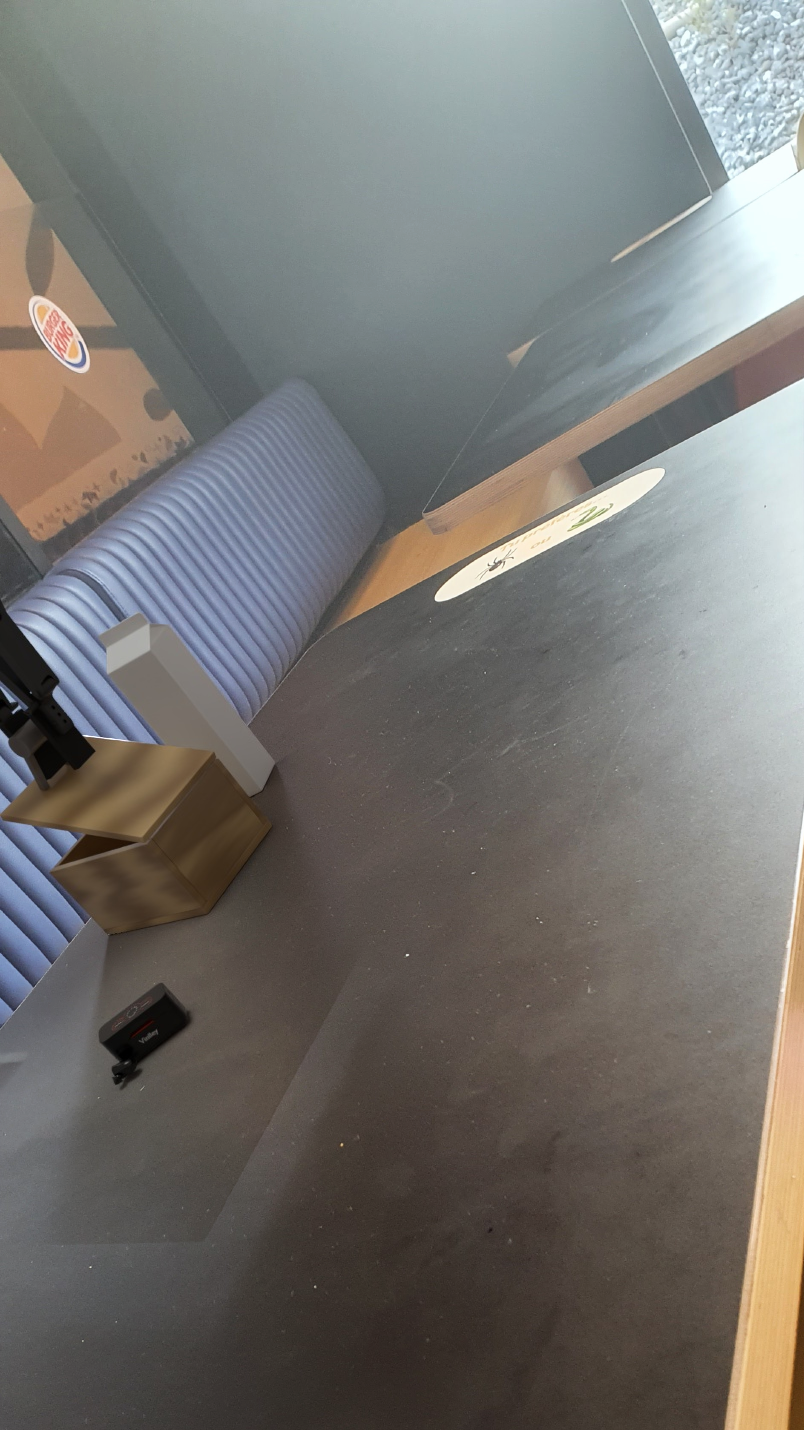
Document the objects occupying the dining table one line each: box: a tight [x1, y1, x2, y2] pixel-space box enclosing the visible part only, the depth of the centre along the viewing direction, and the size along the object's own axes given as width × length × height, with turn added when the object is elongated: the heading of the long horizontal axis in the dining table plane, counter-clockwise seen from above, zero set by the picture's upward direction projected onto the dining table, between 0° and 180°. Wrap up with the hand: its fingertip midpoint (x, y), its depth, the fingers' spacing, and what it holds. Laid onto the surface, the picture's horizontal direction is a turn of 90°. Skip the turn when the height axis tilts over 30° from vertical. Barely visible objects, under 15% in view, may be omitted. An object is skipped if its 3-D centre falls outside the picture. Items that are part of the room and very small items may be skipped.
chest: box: [48, 759, 273, 936], centre depth 114 cm, size 16×13×9 cm
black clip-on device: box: [97, 982, 189, 1086], centre depth 91 cm, size 5×7×3 cm, turn 113°
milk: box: [97, 611, 276, 798], centre depth 123 cm, size 6×6×22 cm
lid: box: [0, 719, 216, 843], centre depth 108 cm, size 16×13×7 cm
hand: (70, 765), depth 110 cm, fingers open, 4 cm apart
